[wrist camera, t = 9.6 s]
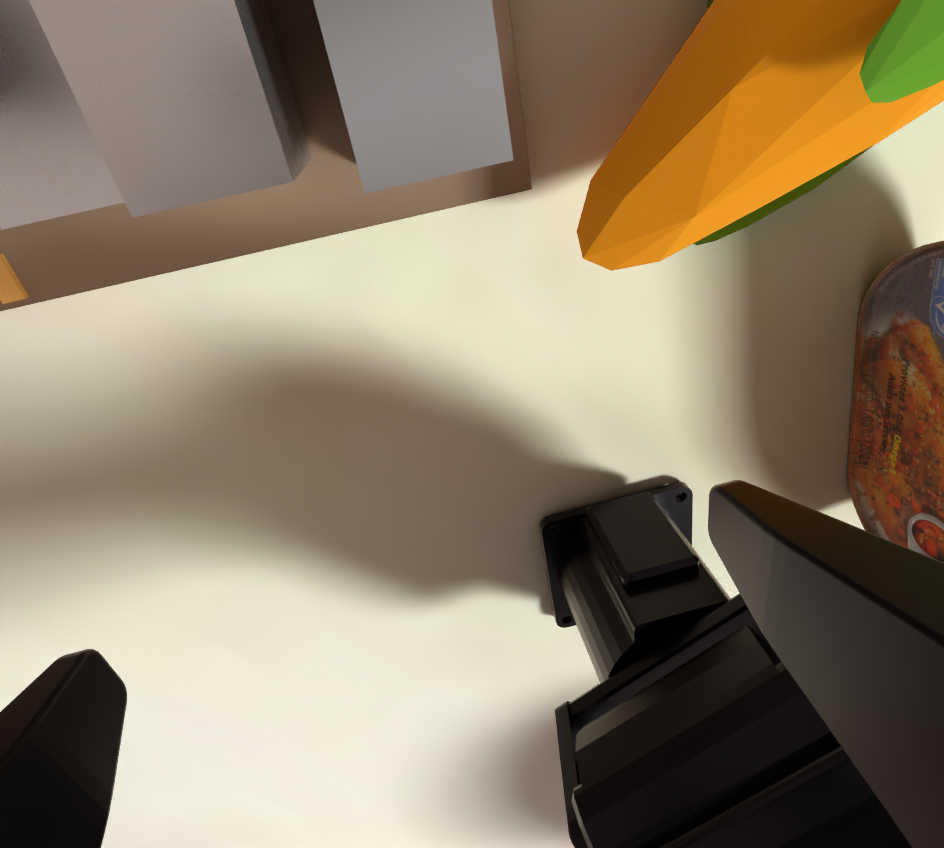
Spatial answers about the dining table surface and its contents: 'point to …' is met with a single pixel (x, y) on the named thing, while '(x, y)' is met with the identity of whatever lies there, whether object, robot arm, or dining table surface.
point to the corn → (759, 118)
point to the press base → (323, 147)
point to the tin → (901, 404)
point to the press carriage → (140, 106)
